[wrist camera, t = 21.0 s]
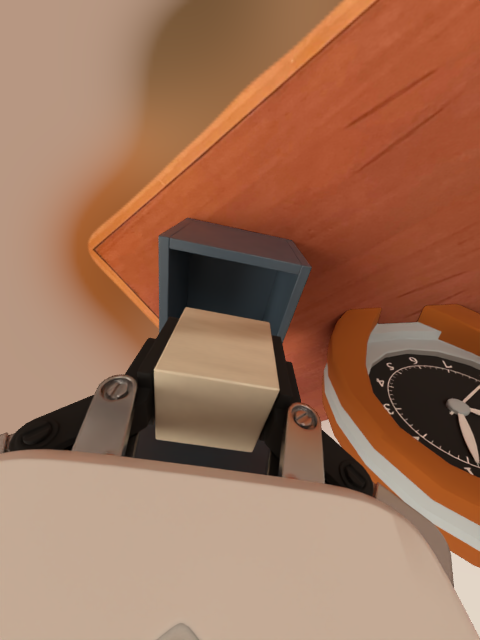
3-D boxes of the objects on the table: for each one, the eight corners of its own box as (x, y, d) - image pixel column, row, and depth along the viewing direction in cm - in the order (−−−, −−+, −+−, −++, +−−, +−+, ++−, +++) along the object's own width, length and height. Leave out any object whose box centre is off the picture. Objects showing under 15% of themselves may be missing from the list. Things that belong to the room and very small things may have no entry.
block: (185, 306, 11) (152, 369, 7) (270, 321, 11) (280, 390, 8) (181, 368, 13) (154, 440, 10) (251, 379, 14) (252, 453, 10)
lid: (49, 494, 9) (49, 580, 10) (320, 524, 10) (293, 600, 11) (158, 360, 22) (152, 404, 23) (269, 379, 23) (259, 420, 24)
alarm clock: (496, 302, 27) (1078, 590, 8) (459, 360, 32) (758, 617, 13) (315, 310, 29) (448, 571, 10) (308, 365, 34) (385, 602, 15)
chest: (187, 217, 23) (158, 235, 16) (292, 240, 24) (312, 267, 17) (181, 316, 30) (159, 361, 22) (263, 331, 31) (268, 379, 23)
